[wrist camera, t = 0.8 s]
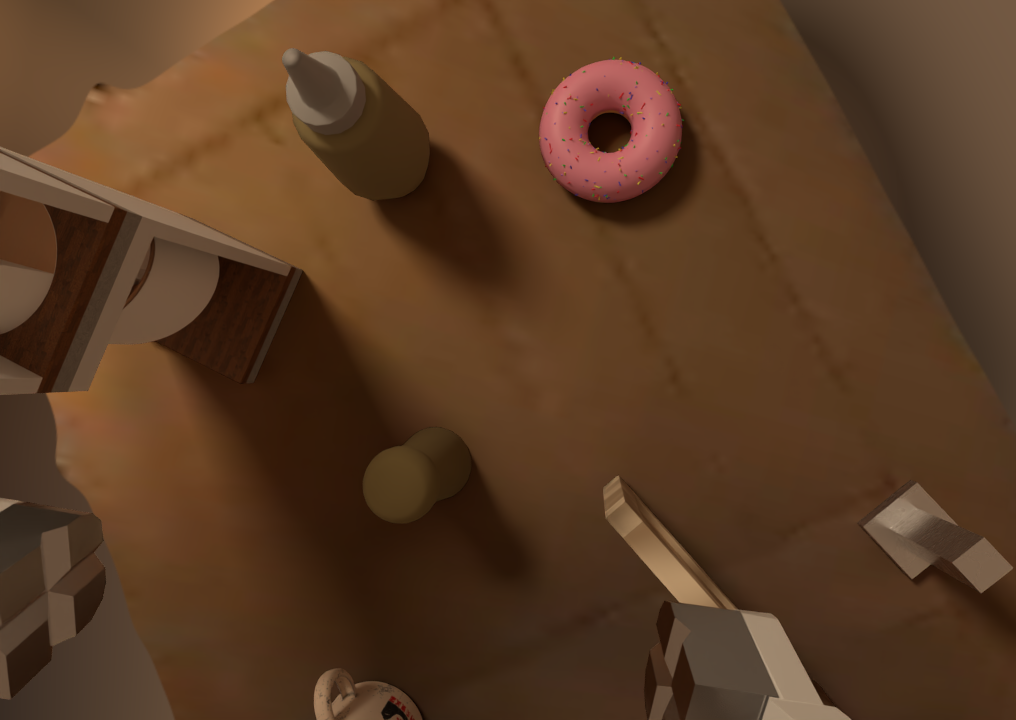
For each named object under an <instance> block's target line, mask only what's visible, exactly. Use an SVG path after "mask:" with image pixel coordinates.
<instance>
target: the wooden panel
mask: <svg viewBox="0 0 1016 720" xmlns="http://www.w3.org/2000/svg"><path fill="white" fill-rule="evenodd" d="M603 493H604V505H605V516H606V519H607V520H608V521H609V523H610V524H611V525H612V526H613V527H614V528H615V529H616V531H617V532H618V533H619V534H620V535H621V536H622V537H623V539H624V540H625V541H626V542H627V543H628V544H629V545H630V546H631V548H632V549H633V550H634V551H635V552H636V553H637V554H638V556H639V557H640V558H641V559H642V560H643V561H644V562H645V564H646V565H647V566H648V567H649V568H650V569H651V570H652V572H653V573H654V574H655V575H656V576H657V577H658V578H659V580H660V581H661V582H662V583H663V584H664V585H665V586H666V587H667V589H668V590H669V591H670V592H671V593H672V594H673V595H674V597H675V598H676V599H677V600H678V601H679V602H680V603H686V604H693V605H700V606H708V607H715V608H722V609H729V610H738V609H737V608H736V606H735V605H734V604H733V603H732V602H731V601H730V600H729V599H728V597H727V596H726V595H725V594H724V593H723V592H722V591H721V590H720V588H719V587H718V586H717V585H716V584H715V583H714V582H713V580H712V579H711V578H710V577H709V576H708V575H707V574H706V573H705V571H704V570H703V569H702V568H701V567H700V566H699V565H698V564H697V562H696V561H695V560H694V559H693V558H692V557H691V556H690V555H689V553H688V552H687V551H686V550H685V549H684V548H683V547H682V546H681V544H680V543H679V542H678V541H677V540H676V539H675V538H674V537H673V535H672V534H671V533H670V532H669V531H668V530H667V529H666V528H665V526H664V525H663V524H662V523H661V522H660V521H659V520H658V519H657V517H656V516H655V515H654V514H653V513H652V512H651V511H650V510H649V508H648V507H647V506H646V505H645V504H644V503H643V502H642V501H641V499H640V498H639V497H638V496H637V495H636V494H635V493H634V492H633V490H632V489H631V488H630V487H629V486H628V485H627V484H626V483H625V481H624V480H623V479H622V478H621V477H620V476H619V475H618V476H617V477H615V478H614V479H613V480H612V481H611V482H610V483H608V484H607V485H606V486H605V487H604V488H603Z"/></svg>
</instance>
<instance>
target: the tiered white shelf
mask: <svg viewBox="0 0 1016 720" xmlns="http://www.w3.org/2000/svg"><path fill="white" fill-rule="evenodd" d="M302 272H303V270H301V269H299V268H297V267H295V266H293V265H291V264H288V263H286V262H284V261H282V260H280V259H278V258H276V257H274V256H271V255H269V254H267V253H265V252H263V251H261V250H259V249H256V248H254V247H252V246H250V245H248V244H246V243H244V242H242V241H239V240H237V239H235V238H233V237H231V236H229V235H227V234H224V233H222V232H220V231H218V230H216V229H214V228H212V227H209V226H207V225H205V224H203V223H201V222H199V221H197V220H195V219H192V218H190V217H187V216H185V215H182V214H179V213H176V212H174V211H171V210H168V209H166V208H163V207H160V206H158V205H155V204H152V203H150V202H147V201H144V200H142V199H139V198H136V197H134V196H131V195H128V194H125V193H123V192H120V191H117V190H115V189H112V188H109V187H107V186H104V185H101V184H99V183H96V182H93V181H91V180H88V179H85V178H82V177H80V176H77V175H74V174H72V173H69V172H66V171H64V170H61V169H58V168H56V167H53V166H50V165H48V164H45V163H42V162H40V161H37V160H34V159H31V158H29V157H26V156H23V155H21V154H18V153H15V152H13V151H10V150H7V149H5V148H2V147H0V395H6V394H27V393H49V392H71V391H88V389H89V387H90V385H91V382H92V380H93V378H94V375H95V373H96V371H97V368H98V366H99V364H100V361H101V359H102V357H103V354H104V352H105V350H106V347H107V345H108V344H141V343H147V342H152V341H156V342H158V343H160V344H162V345H164V346H166V347H168V348H170V349H172V350H174V351H176V352H178V353H180V354H182V355H184V356H186V357H188V358H190V359H192V360H194V361H196V362H198V363H200V364H202V365H204V366H206V367H208V368H210V369H212V370H214V371H216V372H218V373H220V374H222V375H224V376H226V377H228V378H230V379H232V380H234V381H236V382H238V383H240V384H243V383H254V381H255V378H256V376H257V374H258V372H259V369H260V367H261V365H262V362H263V360H264V358H265V356H266V353H267V351H268V349H269V347H270V344H271V342H272V340H273V337H274V335H275V333H276V331H277V328H278V326H279V324H280V322H281V319H282V317H283V315H284V312H285V310H286V308H287V306H288V303H289V301H290V299H291V297H292V294H293V292H294V290H295V287H296V285H297V283H298V281H299V278H300V276H301V274H302Z"/></svg>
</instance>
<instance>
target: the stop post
mask: <svg viewBox="0 0 1016 720" xmlns="http://www.w3.org/2000/svg"><path fill="white" fill-rule="evenodd" d="M858 524H859V525H860V527H861V528H862V529H863V530H864V531H865V532H866V533H867V534H868V535H869V536H870V537H871V538H872V539H873V541H874V542H875V543H876V544H877V545H878V546H879V547H880V548H881V549H882V550H883V551H884V552H885V553H886V555H887V556H888V557H889V558H890V559H891V560H892V561H893V562H894V563H895V564H896V565H897V566H898V567H899V569H900V570H901V571H902V572H903V573H904V574H905V575H906V576H908V577H909V578H911V579H913V578H914V577H916V576H917V575H918V574H919V573H921V572H922V571H923V570H924V569H926V568H927V567H928V566H929V565H933V566H935V567H936V568H938V569H940V570H942V571H943V572H945V573H947V574H948V575H950V576H952V577H954V578H955V579H957V580H959V581H960V582H962V583H964V584H966V585H967V586H969V587H971V588H973V589H974V590H976V591H978V592H979V593H982V592H984V591H985V590H986V589H988V588H989V587H990V586H991V585H993V584H994V583H995V582H996V581H998V580H999V579H1000V578H1002V577H1003V576H1004V575H1005V574H1007V573H1008V572H1009V571H1011V570H1012V569H1013V567H1012V566H1011V565H1010V564H1009V563H1008V562H1007V561H1006V560H1005V559H1004V558H1003V557H1002V556H1001V555H1000V554H999V552H998V551H997V550H996V549H995V548H994V547H993V546H992V545H991V544H990V543H989V542H988V541H987V540H986V539H985V538H984V537H982V536H980V535H978V534H975V533H973V532H971V531H968V530H966V529H964V528H961V527H959V526H958V525H957V524H956V523H955V522H954V521H953V520H952V519H951V518H950V517H949V516H948V515H947V513H946V512H945V511H944V510H943V509H942V508H941V507H940V506H939V505H938V504H937V503H936V502H935V501H934V500H933V499H932V498H931V497H930V496H929V495H928V493H927V492H926V491H925V490H924V489H923V488H922V487H921V486H920V485H919V484H918V483H917V482H914V481H911V480H910V481H909V482H907V483H906V484H905V485H904V486H902V487H901V488H900V489H899V490H898V491H896V492H895V493H894V494H893V495H891V496H890V497H889V498H888V499H887V500H885V501H884V502H883V503H882V504H880V505H879V506H878V507H877V508H875V509H874V510H873V511H872V512H871V513H869V514H868V515H867V516H866V517H864V518H863V519H862V520H861V521H859V522H858Z"/></svg>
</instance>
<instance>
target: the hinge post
mask: <svg viewBox="0 0 1016 720" xmlns="http://www.w3.org/2000/svg"><path fill="white" fill-rule="evenodd" d="M810 680H811V679H810ZM811 682H812V684H813V685H814V687H815V689H816V691H817V693H818V695H819V697H820V698H821V700H822V702H823V704H824V705H825V706H831V707H835V706H834V705H833V703H832V702H831V700H830V699H829V698H828V696H827V695H826V694H825V692H824V691H823V689H822V688H821V687H820V685H819V684H817V683H816V682H815V681H813V680H811Z"/></svg>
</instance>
